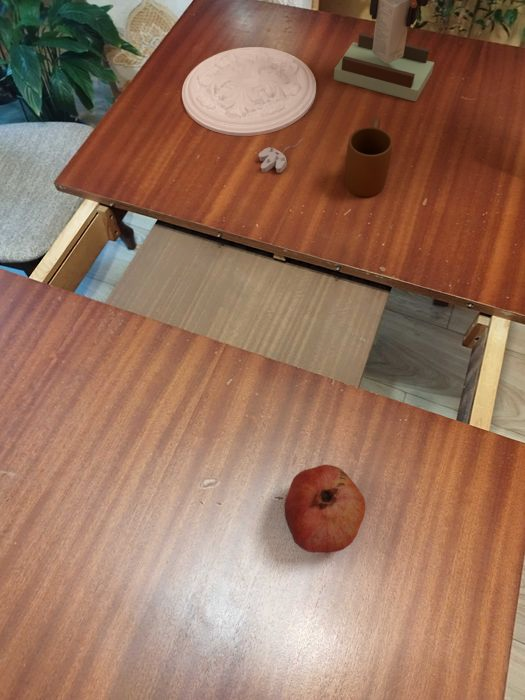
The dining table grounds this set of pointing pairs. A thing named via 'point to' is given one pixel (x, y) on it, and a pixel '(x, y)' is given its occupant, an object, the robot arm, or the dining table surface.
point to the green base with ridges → (385, 69)
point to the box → (390, 29)
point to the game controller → (273, 159)
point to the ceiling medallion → (249, 91)
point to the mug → (367, 159)
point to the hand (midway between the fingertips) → (391, 20)
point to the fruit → (324, 509)
